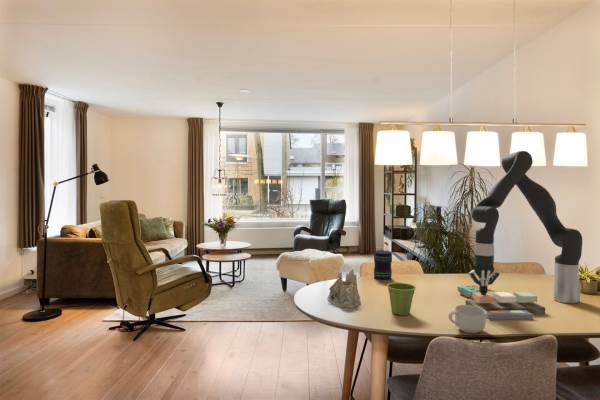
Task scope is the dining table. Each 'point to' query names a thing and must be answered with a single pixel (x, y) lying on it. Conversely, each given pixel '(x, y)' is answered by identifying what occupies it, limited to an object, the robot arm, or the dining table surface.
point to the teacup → (469, 318)
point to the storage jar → (382, 265)
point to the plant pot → (401, 297)
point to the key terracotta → (483, 297)
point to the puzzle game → (471, 290)
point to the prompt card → (508, 315)
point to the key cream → (504, 297)
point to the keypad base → (508, 306)
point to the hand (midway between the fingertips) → (483, 294)
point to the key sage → (525, 297)
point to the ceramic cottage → (345, 291)
